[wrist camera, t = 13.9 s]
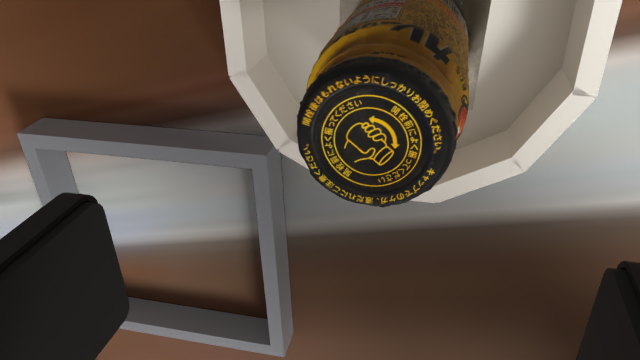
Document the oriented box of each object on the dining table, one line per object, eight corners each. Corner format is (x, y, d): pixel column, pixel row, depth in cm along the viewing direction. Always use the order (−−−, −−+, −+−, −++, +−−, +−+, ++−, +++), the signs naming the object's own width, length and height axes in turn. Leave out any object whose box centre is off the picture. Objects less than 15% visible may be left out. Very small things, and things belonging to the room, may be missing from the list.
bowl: (553, 176, 29) (565, 216, 26) (263, 151, 33) (241, 183, 29) (642, -200, 20) (678, -213, 17) (234, -178, 24) (197, -186, 21)
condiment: (337, 95, 29) (272, 215, 19) (342, -73, 24) (259, -34, 14) (472, 108, 27) (478, 245, 17) (502, -68, 23) (534, -21, 13)
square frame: (293, 332, 41) (284, 357, 39) (102, 301, 44) (84, 322, 42) (279, 137, 32) (266, 155, 30) (42, 117, 36) (16, 133, 33)
